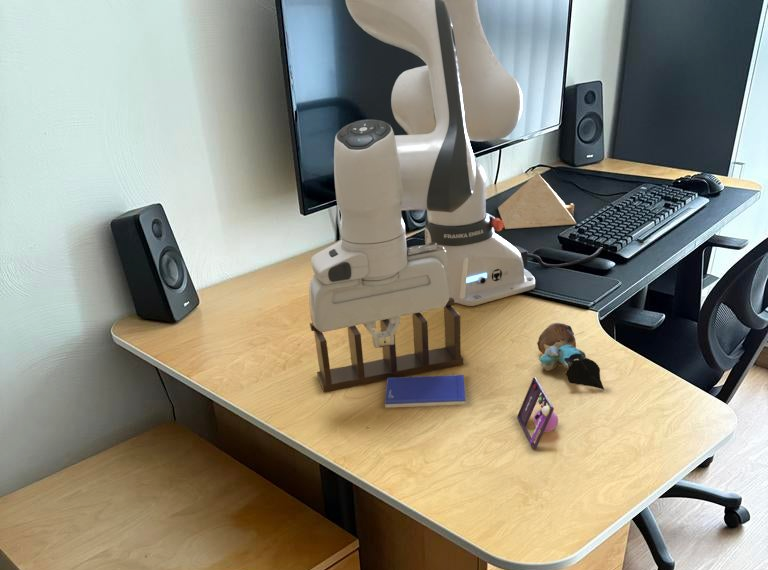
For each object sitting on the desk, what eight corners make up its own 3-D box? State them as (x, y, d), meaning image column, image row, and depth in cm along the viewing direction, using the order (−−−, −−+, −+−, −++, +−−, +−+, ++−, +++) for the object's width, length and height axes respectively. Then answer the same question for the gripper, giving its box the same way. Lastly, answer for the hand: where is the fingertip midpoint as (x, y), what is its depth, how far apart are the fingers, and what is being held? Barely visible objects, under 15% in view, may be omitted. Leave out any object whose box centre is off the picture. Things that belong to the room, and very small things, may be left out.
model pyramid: (579, 224, 179) (583, 179, 173) (505, 229, 180) (506, 184, 174) (567, 203, 192) (570, 160, 186) (497, 208, 193) (498, 166, 187)
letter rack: (453, 351, 132) (452, 297, 126) (463, 364, 128) (463, 308, 122) (317, 378, 128) (309, 323, 122) (323, 392, 124) (316, 336, 118)
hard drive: (384, 401, 118) (465, 398, 117) (387, 376, 124) (463, 373, 123) (385, 410, 119) (465, 407, 118) (387, 385, 125) (463, 382, 124)
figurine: (569, 348, 130) (572, 314, 126) (606, 391, 117) (610, 355, 114) (527, 354, 129) (528, 320, 125) (558, 398, 117) (561, 362, 113)
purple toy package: (529, 376, 109) (546, 407, 102) (561, 382, 110) (581, 413, 103) (512, 416, 113) (528, 448, 106) (544, 422, 114) (562, 455, 107)
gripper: (438, 233, 110) (442, 323, 118) (299, 259, 106) (314, 349, 115) (453, 247, 105) (456, 339, 114) (308, 275, 102) (323, 368, 110)
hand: (383, 345), depth 114 cm, fingers closed
